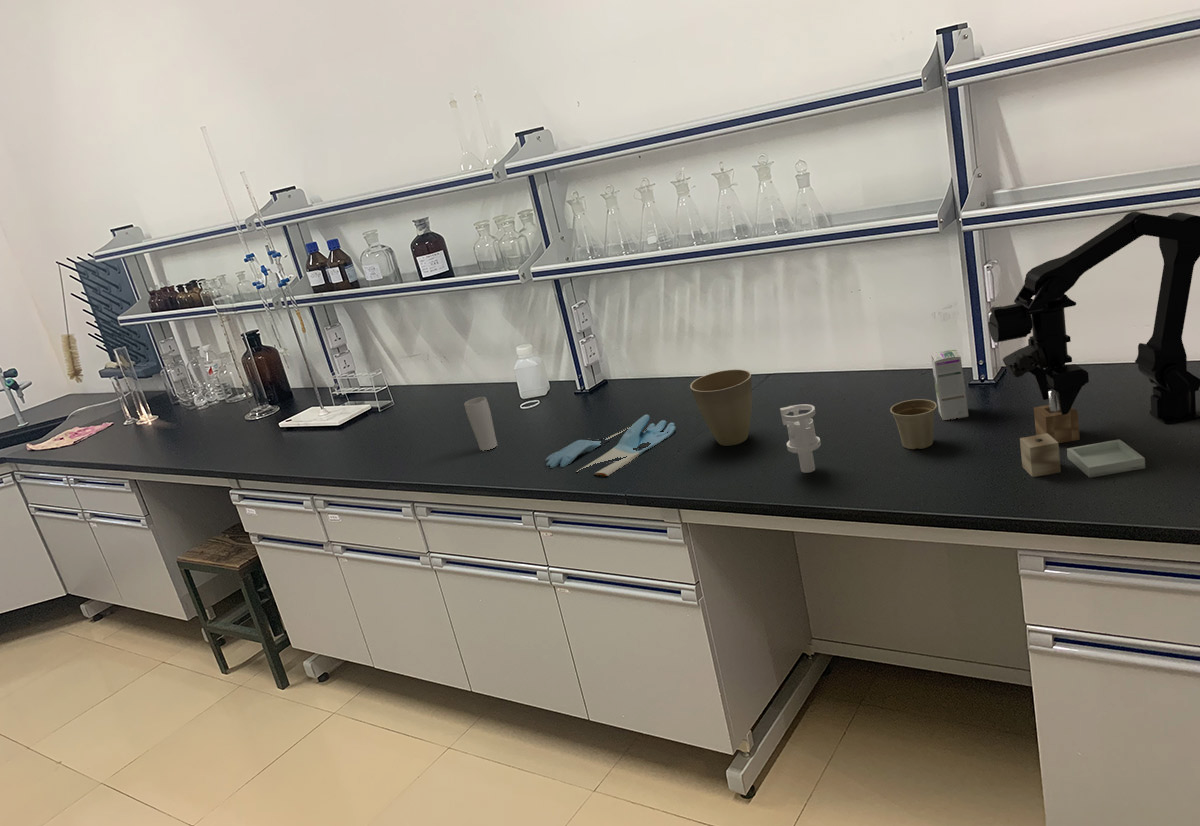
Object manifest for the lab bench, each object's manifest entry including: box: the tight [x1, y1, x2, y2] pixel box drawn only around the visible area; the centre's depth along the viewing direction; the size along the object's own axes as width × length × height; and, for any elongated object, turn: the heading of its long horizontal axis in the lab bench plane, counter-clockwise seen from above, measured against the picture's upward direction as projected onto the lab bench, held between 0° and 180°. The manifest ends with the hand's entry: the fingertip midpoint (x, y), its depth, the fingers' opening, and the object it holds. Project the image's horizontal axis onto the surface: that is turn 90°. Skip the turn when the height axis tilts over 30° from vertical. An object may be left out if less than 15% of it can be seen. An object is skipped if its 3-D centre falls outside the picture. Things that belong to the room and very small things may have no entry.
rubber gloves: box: [544, 414, 677, 477], centre depth 230 cm, size 27×33×6 cm
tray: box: [1066, 439, 1146, 478], centre depth 159 cm, size 9×9×2 cm
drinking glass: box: [463, 396, 498, 452], centre depth 251 cm, size 7×7×15 cm
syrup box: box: [930, 349, 969, 421], centre depth 195 cm, size 6×6×14 cm
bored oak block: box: [1033, 404, 1080, 444], centre depth 173 cm, size 6×6×6 cm
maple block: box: [1019, 433, 1062, 478], centre depth 162 cm, size 5×5×6 cm
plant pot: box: [689, 368, 753, 447], centre depth 212 cm, size 15×15×16 cm
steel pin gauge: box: [1048, 389, 1061, 413], centre depth 172 cm, size 2×2×10 cm
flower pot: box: [889, 398, 938, 450], centre depth 185 cm, size 9×9×9 cm
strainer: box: [779, 403, 822, 474], centre depth 185 cm, size 7×7×15 cm
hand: (1055, 406), depth 172 cm, fingers open, 9 cm apart
